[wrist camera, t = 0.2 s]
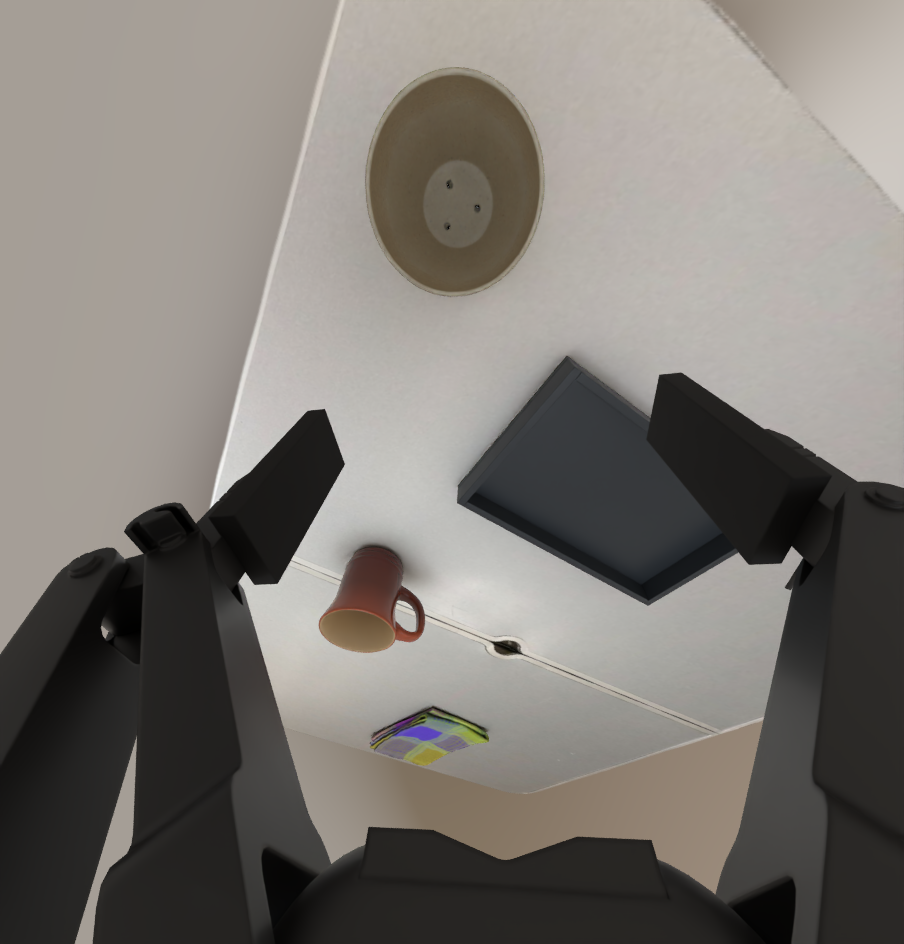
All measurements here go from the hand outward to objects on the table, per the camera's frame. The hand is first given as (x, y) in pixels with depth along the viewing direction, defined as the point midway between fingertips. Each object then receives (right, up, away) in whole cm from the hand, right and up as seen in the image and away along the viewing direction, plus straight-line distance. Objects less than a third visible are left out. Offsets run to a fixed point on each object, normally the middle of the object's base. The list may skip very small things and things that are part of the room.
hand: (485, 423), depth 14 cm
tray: (+17, -5, +25) cm, 30 cm away
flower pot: (-1, +18, +11) cm, 21 cm away
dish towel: (-7, -62, +66) cm, 91 cm away
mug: (-10, -15, +34) cm, 38 cm away
